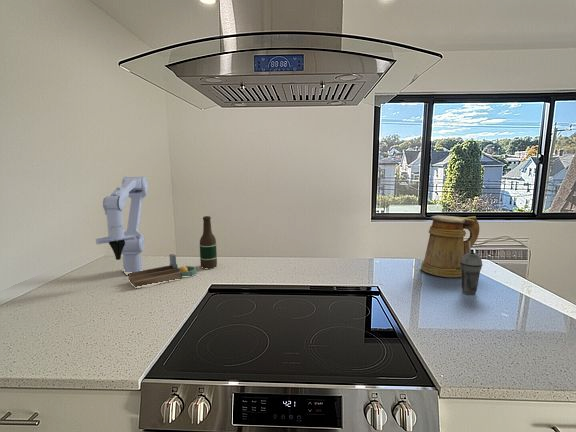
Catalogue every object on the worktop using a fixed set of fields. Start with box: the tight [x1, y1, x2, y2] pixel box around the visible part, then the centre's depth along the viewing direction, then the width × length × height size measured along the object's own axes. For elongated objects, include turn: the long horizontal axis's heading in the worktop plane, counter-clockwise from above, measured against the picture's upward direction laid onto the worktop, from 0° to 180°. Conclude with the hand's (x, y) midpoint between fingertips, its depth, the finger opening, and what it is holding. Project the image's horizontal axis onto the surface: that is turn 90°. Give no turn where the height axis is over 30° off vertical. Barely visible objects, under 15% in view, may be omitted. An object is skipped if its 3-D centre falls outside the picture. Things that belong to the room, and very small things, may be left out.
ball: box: [179, 265, 188, 272], centre depth 153 cm, size 4×4×4 cm
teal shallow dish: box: [178, 265, 197, 277], centre depth 154 cm, size 8×8×2 cm
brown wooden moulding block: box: [128, 264, 182, 287], centre depth 145 cm, size 10×18×4 cm, turn 128°
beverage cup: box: [460, 241, 483, 296], centre depth 129 cm, size 7×7×20 cm
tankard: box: [420, 215, 480, 278], centre depth 154 cm, size 18×24×25 cm
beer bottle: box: [199, 215, 218, 269], centre depth 162 cm, size 8×8×24 cm
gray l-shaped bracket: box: [169, 253, 179, 269], centre depth 149 cm, size 4×2×7 cm, turn 38°
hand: (118, 259), depth 141 cm, fingers closed
